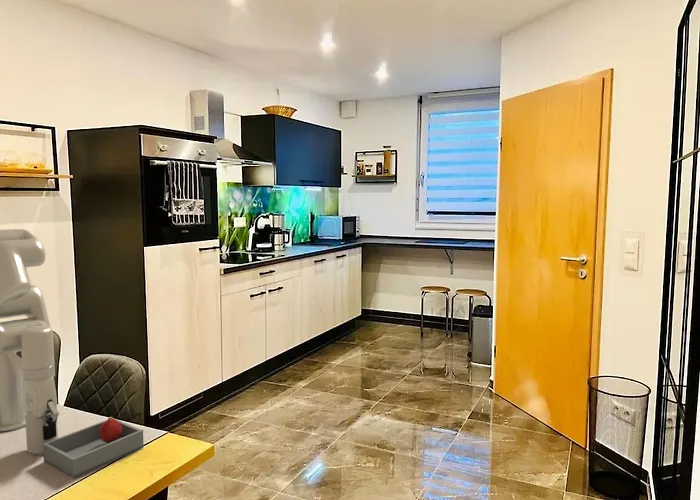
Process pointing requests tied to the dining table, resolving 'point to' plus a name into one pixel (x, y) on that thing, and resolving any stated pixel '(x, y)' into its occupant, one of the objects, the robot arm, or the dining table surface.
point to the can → (36, 433)
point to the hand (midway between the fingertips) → (42, 433)
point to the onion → (110, 430)
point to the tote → (90, 449)
